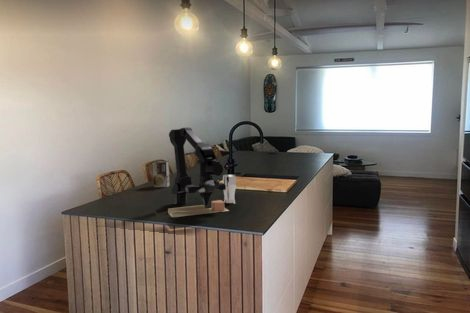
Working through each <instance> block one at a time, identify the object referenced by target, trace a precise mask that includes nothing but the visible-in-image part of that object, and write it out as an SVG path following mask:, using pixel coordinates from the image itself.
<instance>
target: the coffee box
mask: <svg viewBox="0 0 470 313" xmlns="http://www.w3.org/2000/svg"><path fill="white" fill-rule="evenodd" d="M169 162H170V161H169V160H167V161H166V160H165V161H160V160H159V161H154V162H152V175H153V188H169V186H170V166H169V164H170V163H169Z"/></svg>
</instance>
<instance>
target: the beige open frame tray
mask: <svg viewBox="0 0 470 313" xmlns="http://www.w3.org/2000/svg"><path fill="white" fill-rule="evenodd" d="M220 212H222V213H223V212H230V210H229V209H228V208H227V207H225V210H223V211H213V210H212V209H211V207H209V208H206V205H205V204H200V205H190V206H183V207H182V206H181V207H172V208H167V213H168V215H169V216H170V217H171V218H179V217H187V216H189V217H190V216H196V215H203V214H204V215H205V214H214V213H220Z"/></svg>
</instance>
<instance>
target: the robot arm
mask: <svg viewBox="0 0 470 313" xmlns="http://www.w3.org/2000/svg"><path fill="white" fill-rule="evenodd" d="M169 131H170V132H169V133H168V137H169V141H170V143H171V145H172V146H173V148H174V149H173V150H174V158H175V159H174V160H175V168H176V175H175V177H174V185H173V186H172V188H171V189H170V190H171V194H172V195H174V196H175V202H174V203H173V204H174V205H183V206H184V205H187V203H188V199H187V198H188V197H187V196H188V194H195V193H198V194H199V195H200V196H201V199H202V201H203V203H204V204H203V205H205V206H208V203H209V200H210V198H211V195H212V194H213V193H214V194H215V192H216V189H217V190H219V191H224V190H226V186H225V184H223V182H222V181H220V180H219V179H213V176H216V177H218V176H221V175H222V174H223V172H224V167H223V164H221V163H220V160H218V157H217V156H216V153H215V152H214V149H213V148H212V147H211V146H210V145H209V144H206V143H204V142H203V141H202V140H201V139H200V138H199V137H198V136H197V135H196V134H195V132H194V131H193V129H192V127H182V128H178V129H176V128H175V129H171V130H169ZM186 141H187V142H188V144H190V145H191V147H193V150H194V154H195V155H196V157H197V159H198V160H197V161H196V163H197V164H198V166H199V167H198V169H199V170H198V172H199V174H198V177H199V183H198V185H197V186H196V185H195V184H193V183H192V177H191V176H190V175H188V173H187V164H186V156H185V147H184V146H185V143H186ZM187 193H188V194H187Z"/></svg>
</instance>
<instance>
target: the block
mask: <svg viewBox="0 0 470 313" xmlns="http://www.w3.org/2000/svg"><path fill="white" fill-rule="evenodd" d="M225 206H226V205H225V202H224V200H223V199H222V200H221V199H216V200H211V205H210V208H211V209H212V210H213V211H223V210H225V208H226V207H225ZM223 212H224V211H223Z"/></svg>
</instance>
